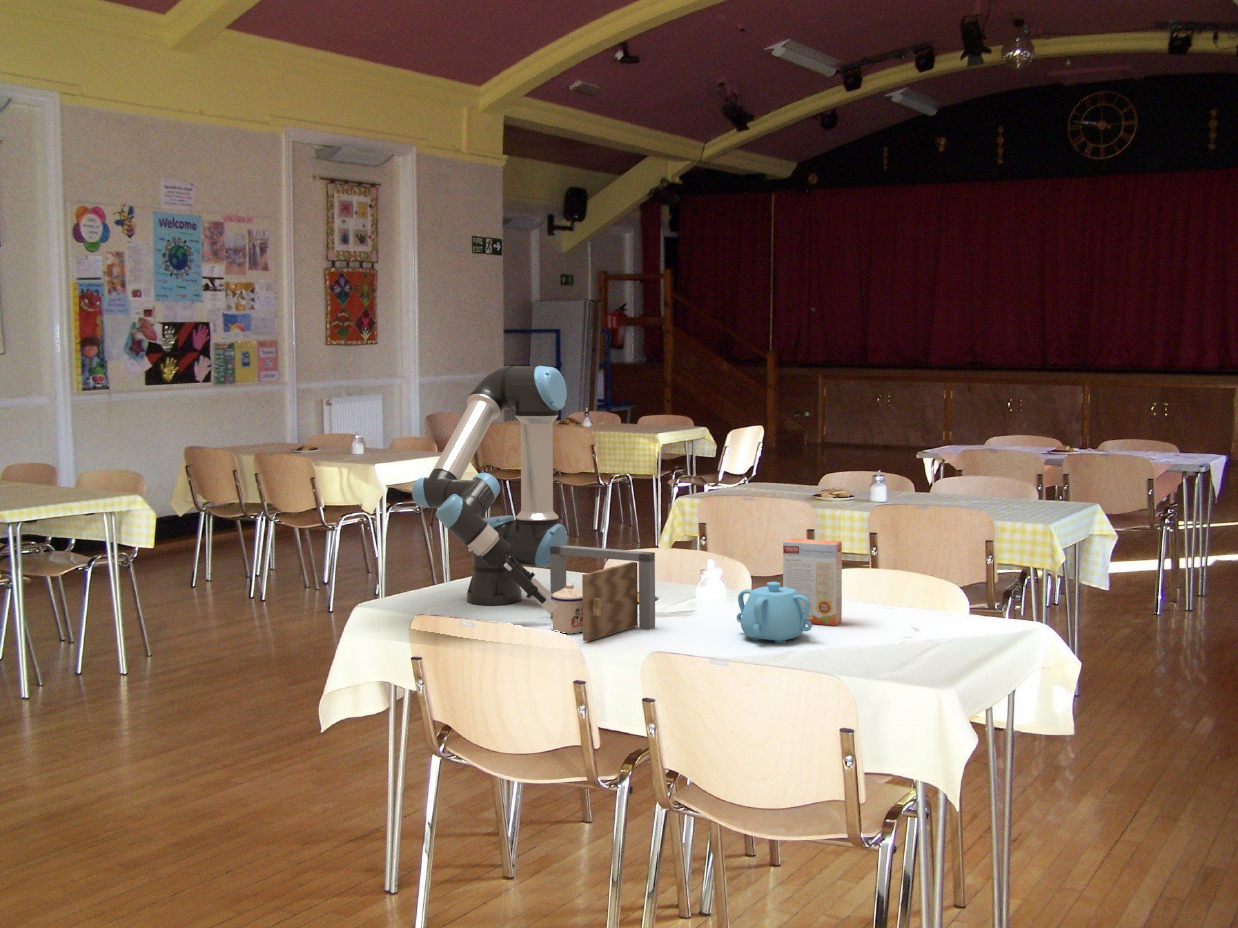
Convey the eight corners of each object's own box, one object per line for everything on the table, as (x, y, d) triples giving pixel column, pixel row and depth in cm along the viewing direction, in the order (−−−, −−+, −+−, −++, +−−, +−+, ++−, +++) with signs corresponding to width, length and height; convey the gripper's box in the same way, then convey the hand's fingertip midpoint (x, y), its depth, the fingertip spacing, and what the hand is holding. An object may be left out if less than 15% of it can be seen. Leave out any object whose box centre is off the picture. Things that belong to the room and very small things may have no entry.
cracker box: (842, 621, 326) (843, 540, 323) (835, 626, 320) (836, 544, 318) (789, 616, 331) (789, 537, 329) (782, 621, 326) (782, 540, 324)
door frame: (556, 616, 334) (555, 544, 332) (655, 627, 321) (654, 552, 319) (551, 618, 331) (549, 546, 329) (650, 629, 318) (649, 554, 316)
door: (632, 624, 322) (632, 561, 320) (643, 626, 320) (642, 563, 318) (583, 640, 306) (582, 574, 304) (593, 642, 304) (592, 575, 302)
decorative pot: (733, 631, 317) (733, 577, 315) (796, 628, 319) (796, 574, 317) (748, 647, 300) (748, 590, 299) (815, 644, 302) (815, 587, 301)
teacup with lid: (576, 635, 312) (575, 588, 311) (544, 631, 317) (544, 585, 316) (601, 626, 323) (600, 580, 322) (570, 622, 327) (570, 577, 326)
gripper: (477, 548, 327) (536, 604, 330) (480, 566, 302) (545, 626, 306) (497, 527, 327) (556, 583, 331) (503, 543, 302) (566, 603, 306)
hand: (551, 604), depth 318 cm, fingers open, 13 cm apart
